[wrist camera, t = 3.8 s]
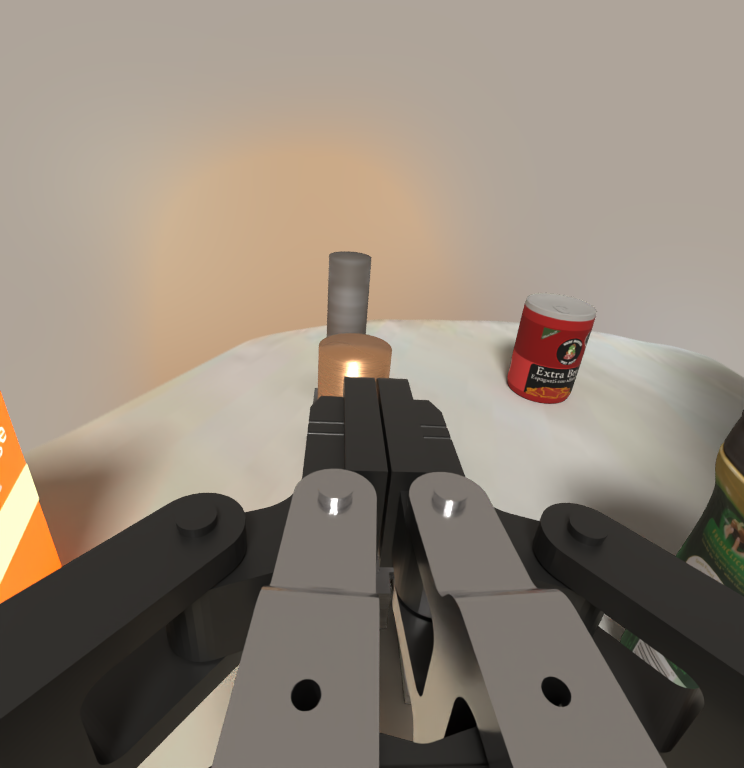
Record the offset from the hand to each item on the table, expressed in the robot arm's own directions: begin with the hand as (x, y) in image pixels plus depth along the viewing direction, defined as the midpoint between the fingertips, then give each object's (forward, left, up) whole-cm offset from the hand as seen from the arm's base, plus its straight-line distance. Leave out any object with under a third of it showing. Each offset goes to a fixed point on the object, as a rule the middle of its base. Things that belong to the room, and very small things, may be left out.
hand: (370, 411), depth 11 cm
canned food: (-46, +2, -20) cm, 50 cm away
